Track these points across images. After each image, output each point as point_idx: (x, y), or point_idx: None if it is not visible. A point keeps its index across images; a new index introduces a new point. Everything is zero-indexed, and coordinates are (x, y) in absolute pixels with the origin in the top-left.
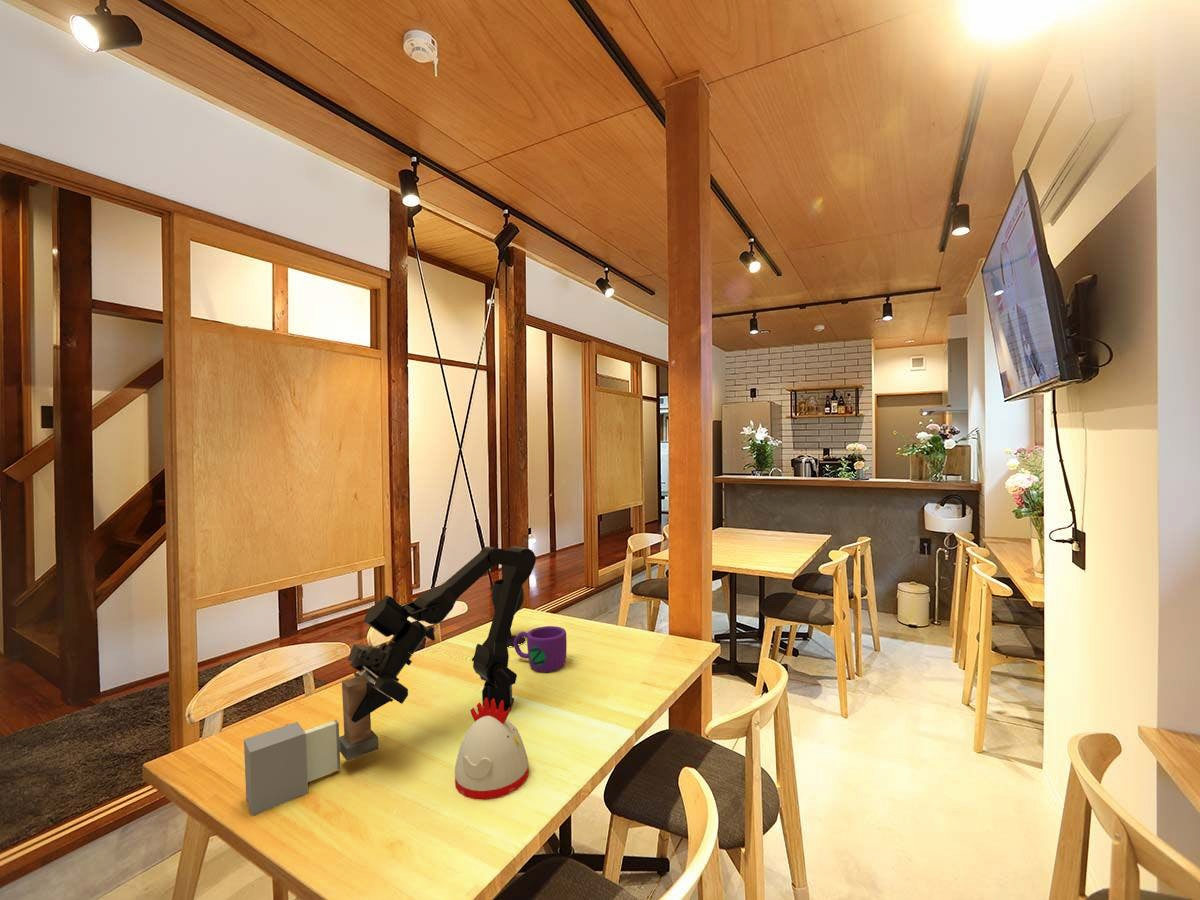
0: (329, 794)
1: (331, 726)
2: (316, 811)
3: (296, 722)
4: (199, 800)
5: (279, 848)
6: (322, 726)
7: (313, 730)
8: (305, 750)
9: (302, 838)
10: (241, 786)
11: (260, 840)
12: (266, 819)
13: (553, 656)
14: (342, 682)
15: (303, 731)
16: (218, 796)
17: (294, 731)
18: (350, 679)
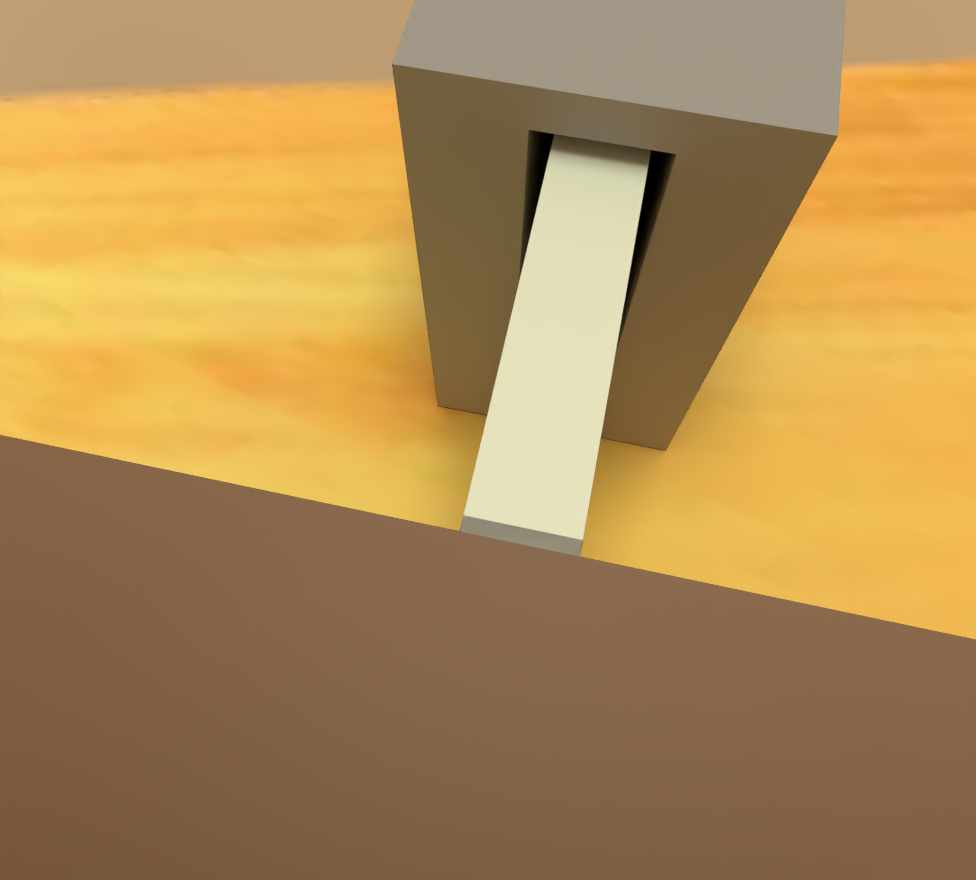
0: (288, 477)
1: (476, 461)
2: (202, 351)
3: (822, 123)
4: (914, 74)
5: (110, 135)
6: (552, 368)
7: (549, 262)
8: (413, 205)
9: (62, 216)
10: (889, 225)
11: (260, 113)
12: (405, 184)
13: None
14: (931, 637)
15: (467, 70)
16: (876, 130)
17: (570, 21)
18: None
